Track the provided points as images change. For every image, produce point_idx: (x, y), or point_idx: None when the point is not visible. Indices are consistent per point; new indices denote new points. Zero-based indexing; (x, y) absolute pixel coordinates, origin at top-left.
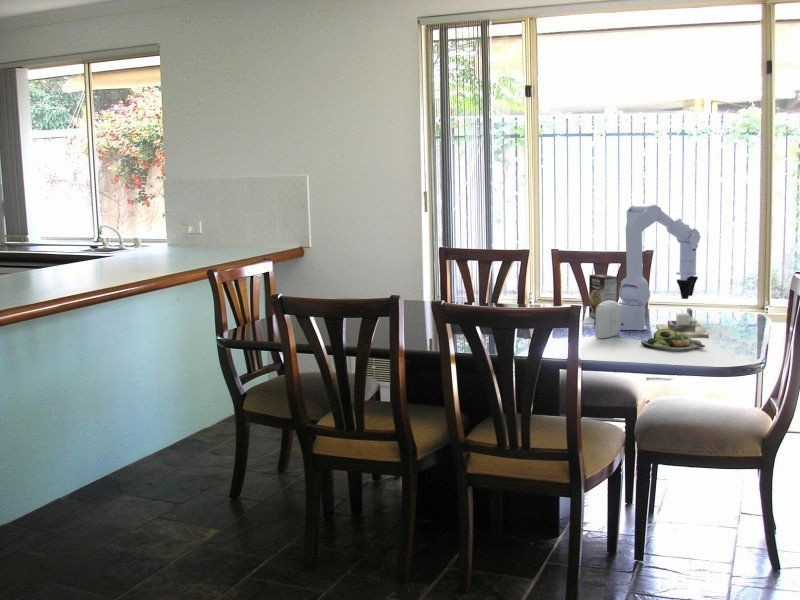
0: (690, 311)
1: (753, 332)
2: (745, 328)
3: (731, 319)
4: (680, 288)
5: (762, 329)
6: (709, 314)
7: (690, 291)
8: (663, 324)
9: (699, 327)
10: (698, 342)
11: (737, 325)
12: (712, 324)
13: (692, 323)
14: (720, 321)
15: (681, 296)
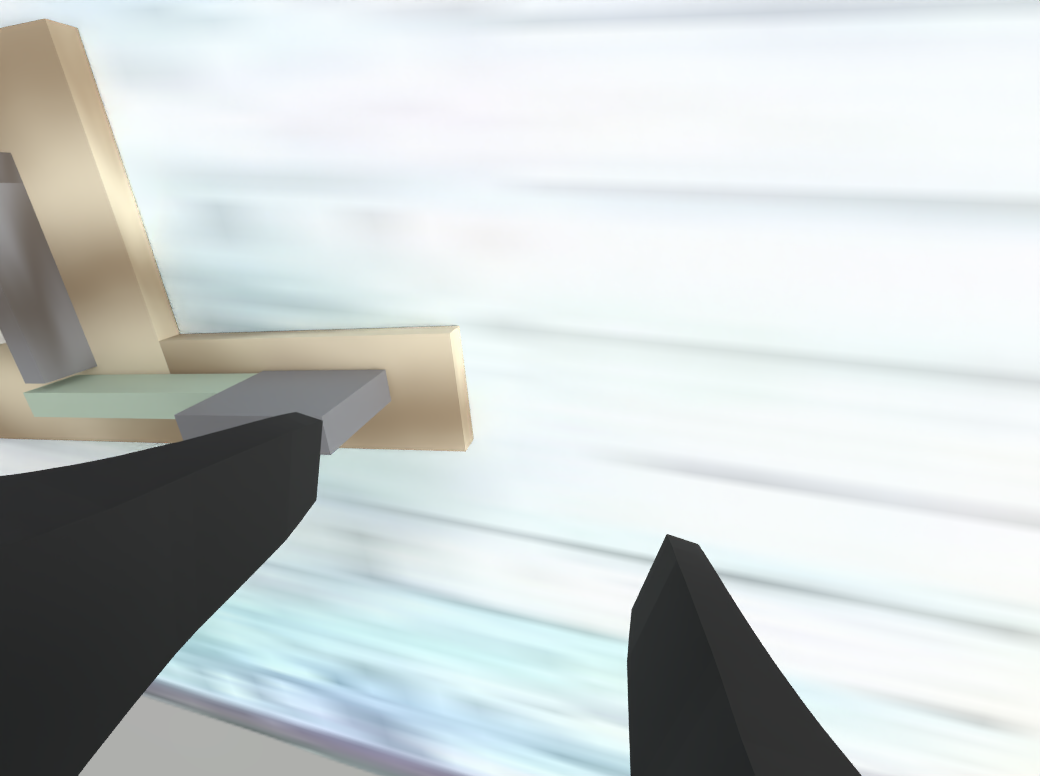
0: (188, 425)
1: (177, 674)
2: (277, 675)
3: (594, 698)
4: (43, 487)
5: (277, 735)
6: (868, 621)
7: (645, 668)
8: (66, 106)
9: (81, 418)
10: None
11: (362, 666)
12: (358, 536)
13: (70, 382)
14: (497, 614)
15: (260, 421)
